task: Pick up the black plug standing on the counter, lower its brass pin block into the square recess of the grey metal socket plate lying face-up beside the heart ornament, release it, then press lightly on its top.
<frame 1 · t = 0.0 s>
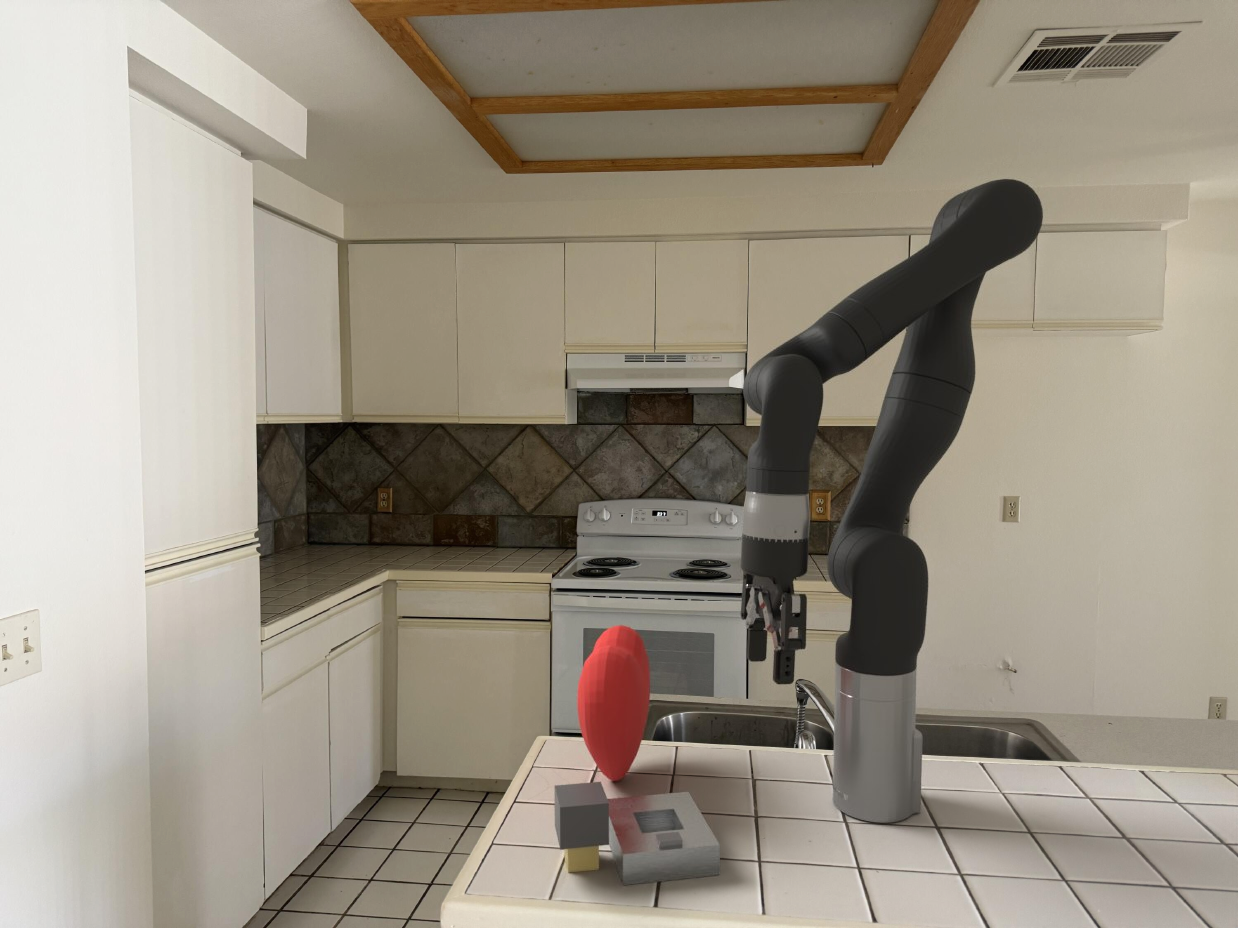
hand: (769, 671, 98), 17 cm above the countertop, tool pointing down, fingers open, 8 cm apart
socket plate: (658, 849, 91), on the countertop
plug: (581, 862, 89), on the countertop
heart: (615, 781, 108), on the countertop
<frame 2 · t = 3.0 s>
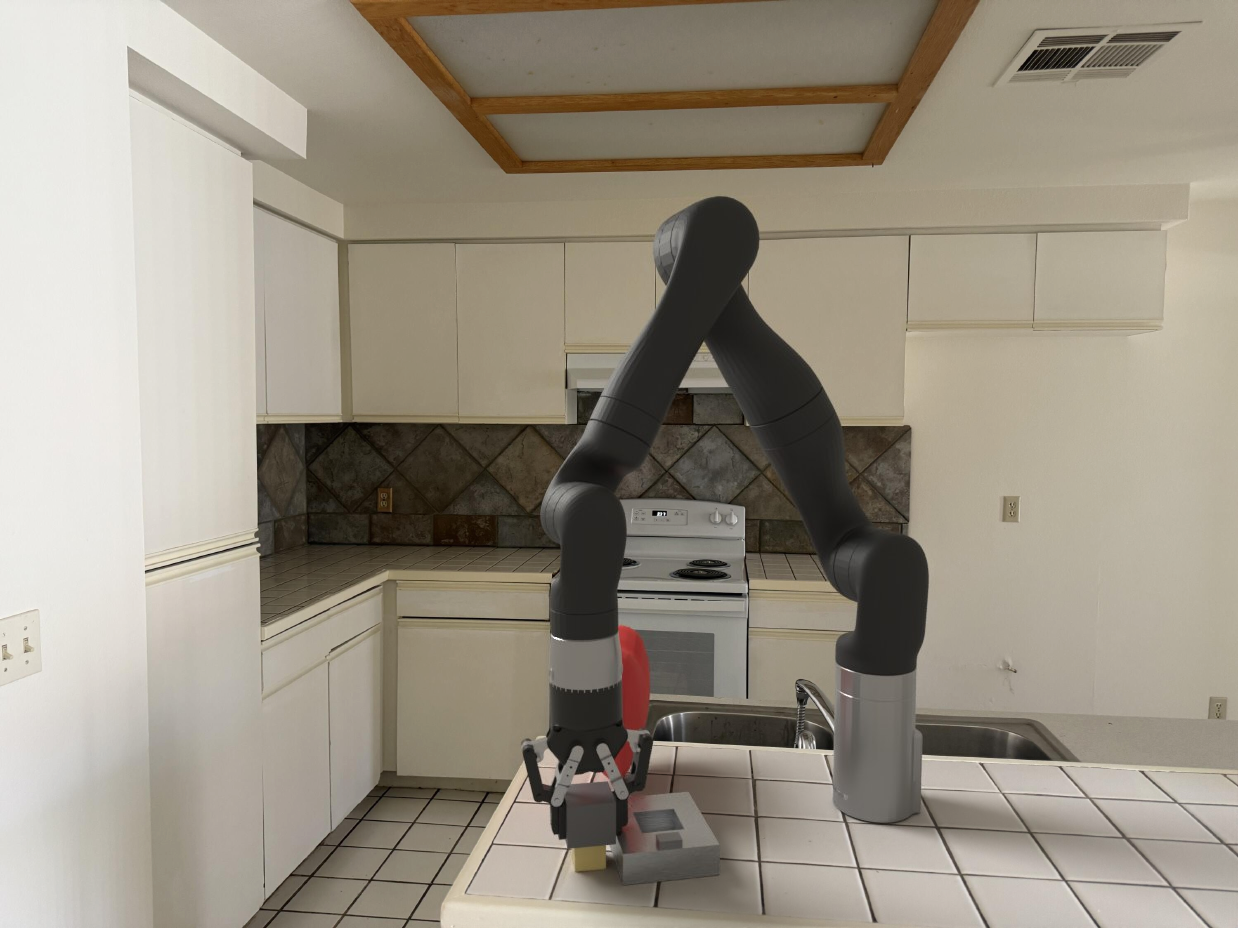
hand: (589, 831, 89), 3 cm above the countertop, tool pointing down, fingers open, 5 cm apart
nothing on the countertop moved.
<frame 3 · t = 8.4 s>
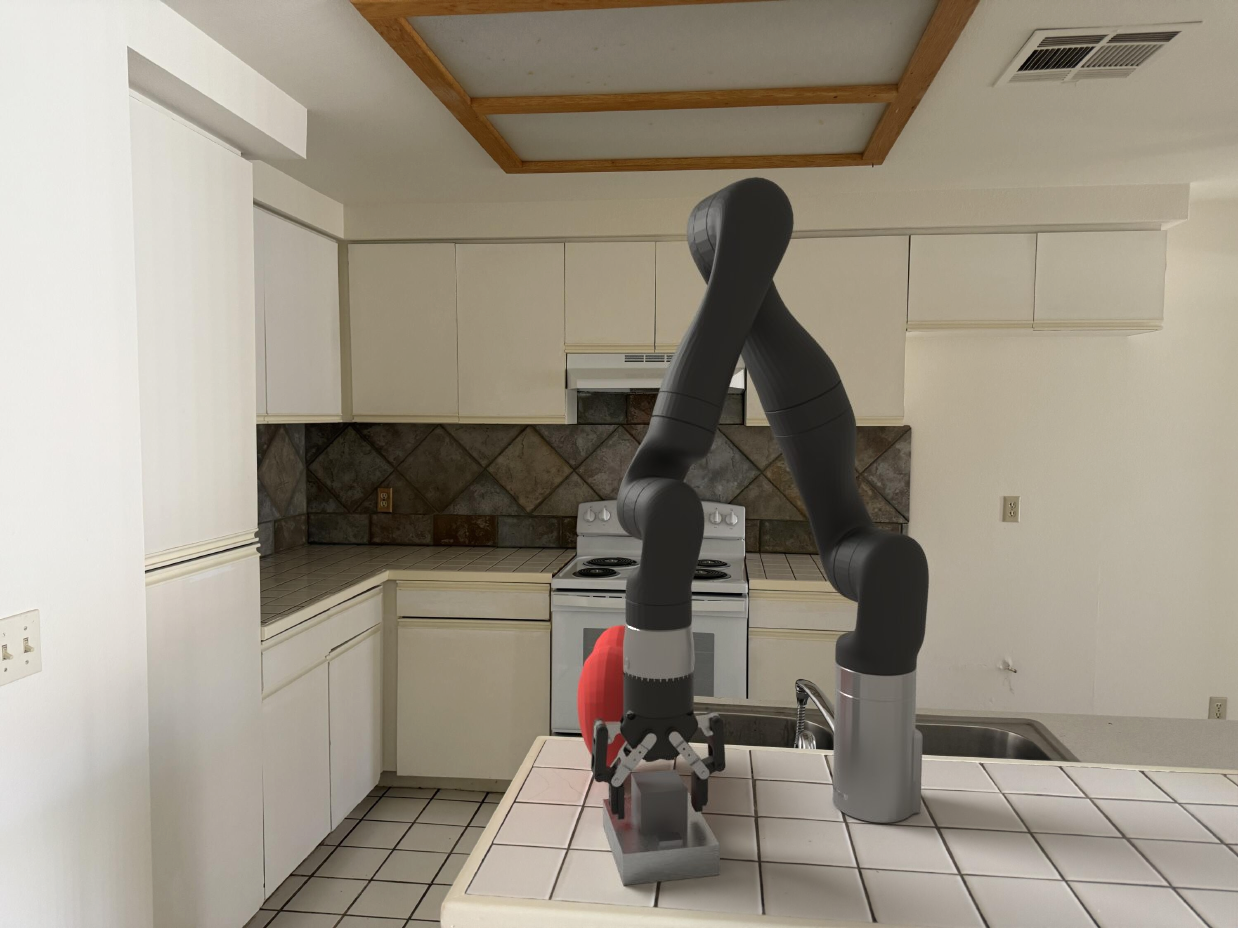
hand: (658, 812, 91), 4 cm above the countertop, tool pointing down, fingers open, 8 cm apart
plug: (658, 847, 91), resting in socket plate
everything else where it was.
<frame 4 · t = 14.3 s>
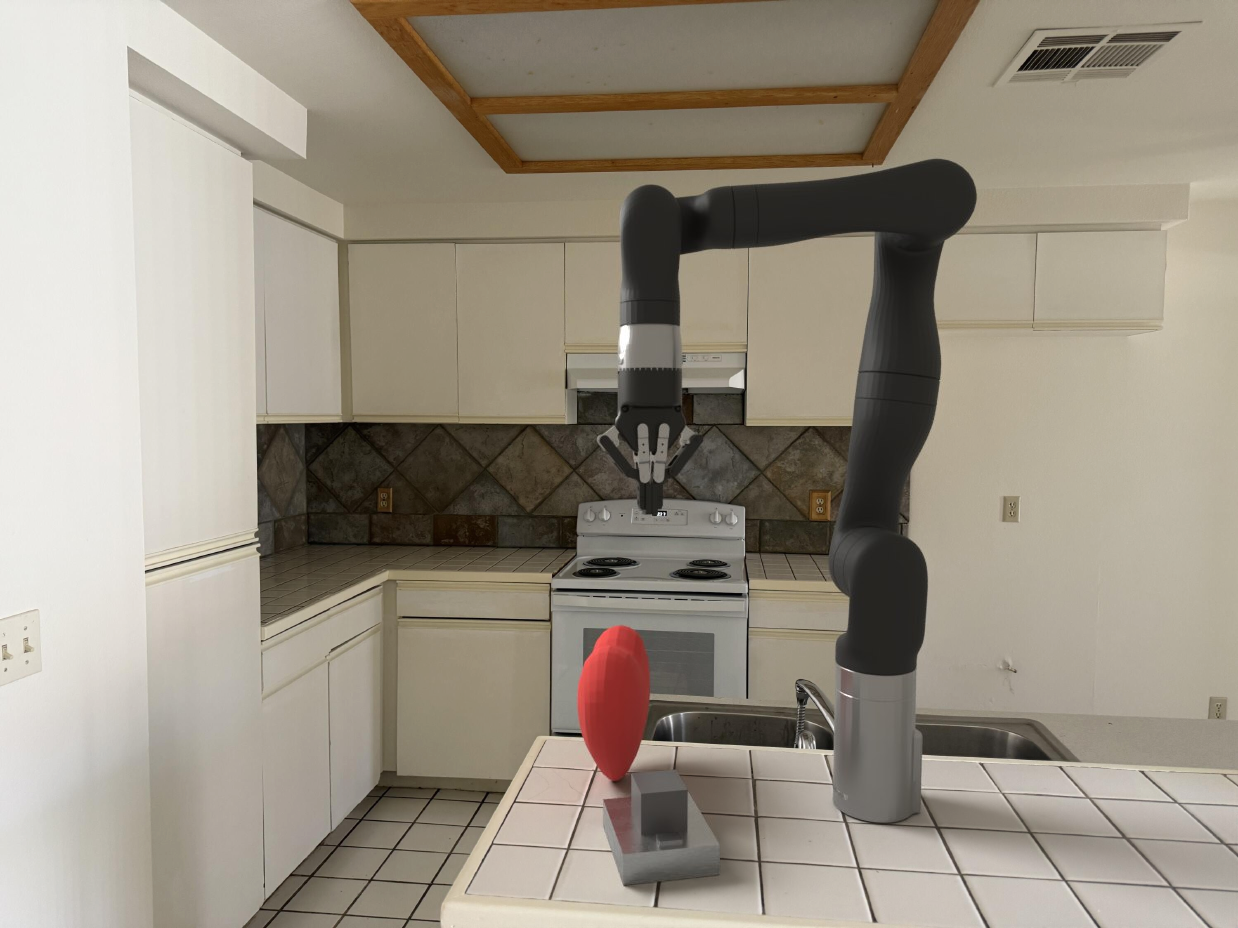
hand: (649, 513, 100), 35 cm above the countertop, tool pointing down, fingers closed
nothing on the countertop moved.
at the end: plug 0.1 cm off-centre on the socket plate, point 0.2 cm above the socket plate's base; plug tilted 0°; the gripper is holding nothing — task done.
